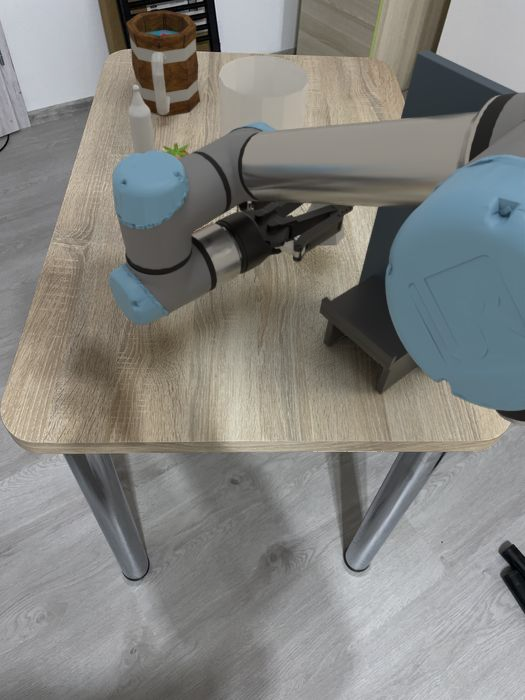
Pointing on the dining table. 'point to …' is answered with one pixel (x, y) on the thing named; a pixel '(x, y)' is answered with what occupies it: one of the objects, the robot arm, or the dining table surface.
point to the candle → (140, 124)
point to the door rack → (401, 222)
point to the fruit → (177, 151)
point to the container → (262, 93)
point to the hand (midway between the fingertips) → (352, 185)
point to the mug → (165, 61)
